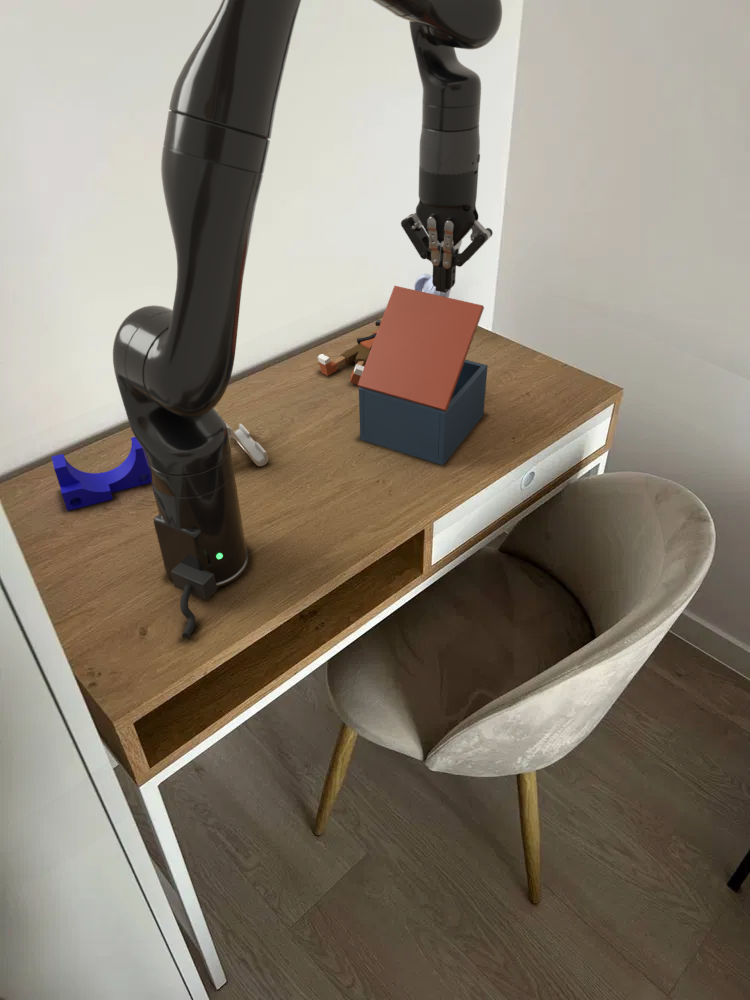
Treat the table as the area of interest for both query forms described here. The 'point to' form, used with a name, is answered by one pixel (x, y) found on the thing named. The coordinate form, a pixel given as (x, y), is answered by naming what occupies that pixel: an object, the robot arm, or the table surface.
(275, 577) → the table surface
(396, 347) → the lid
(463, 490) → the table surface
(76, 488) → the blue cradle bracket
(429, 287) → the toy figurine
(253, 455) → the tablet stand
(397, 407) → the sorter box
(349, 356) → the character figurine
